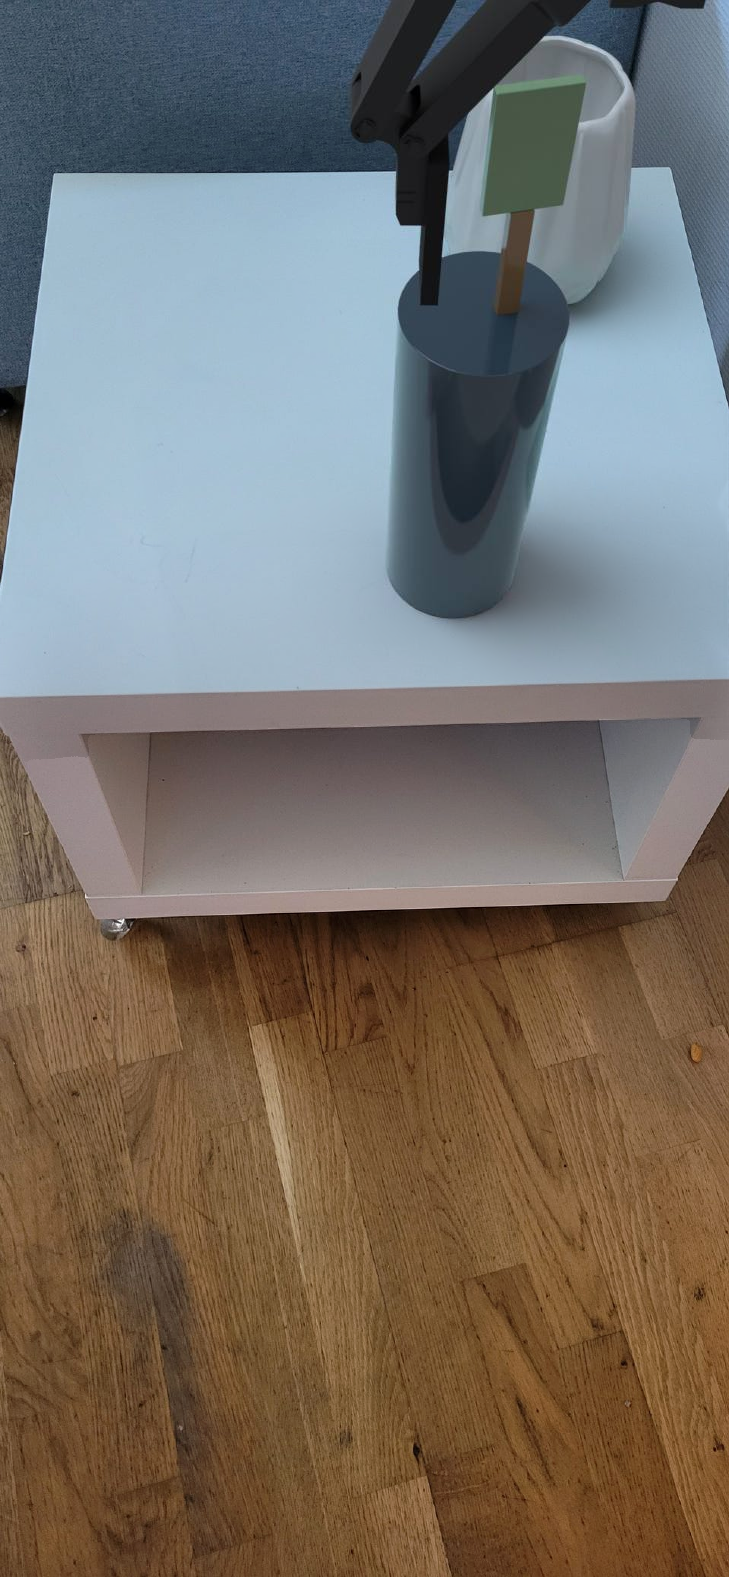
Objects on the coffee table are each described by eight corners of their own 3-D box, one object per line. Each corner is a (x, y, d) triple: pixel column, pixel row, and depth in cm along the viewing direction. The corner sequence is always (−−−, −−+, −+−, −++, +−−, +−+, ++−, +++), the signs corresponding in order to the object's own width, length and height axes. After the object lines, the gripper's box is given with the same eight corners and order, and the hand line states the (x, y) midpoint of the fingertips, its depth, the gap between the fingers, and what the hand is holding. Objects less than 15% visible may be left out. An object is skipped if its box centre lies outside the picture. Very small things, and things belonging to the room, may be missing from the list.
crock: (402, 628, 77) (435, 171, 47) (373, 523, 81) (387, 35, 50) (530, 605, 78) (646, 143, 47) (496, 502, 82) (583, 10, 51)
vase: (641, 242, 93) (691, 55, 80) (570, 354, 88) (611, 176, 74) (486, 184, 96) (509, -6, 82) (408, 290, 91) (418, 106, 77)
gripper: (1172, -445, 31) (860, 224, 51) (264, -457, 31) (297, 220, 50) (1262, -307, 28) (893, 351, 48) (252, -320, 28) (293, 347, 47)
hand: (586, 284), depth 49 cm, fingers open, 13 cm apart
